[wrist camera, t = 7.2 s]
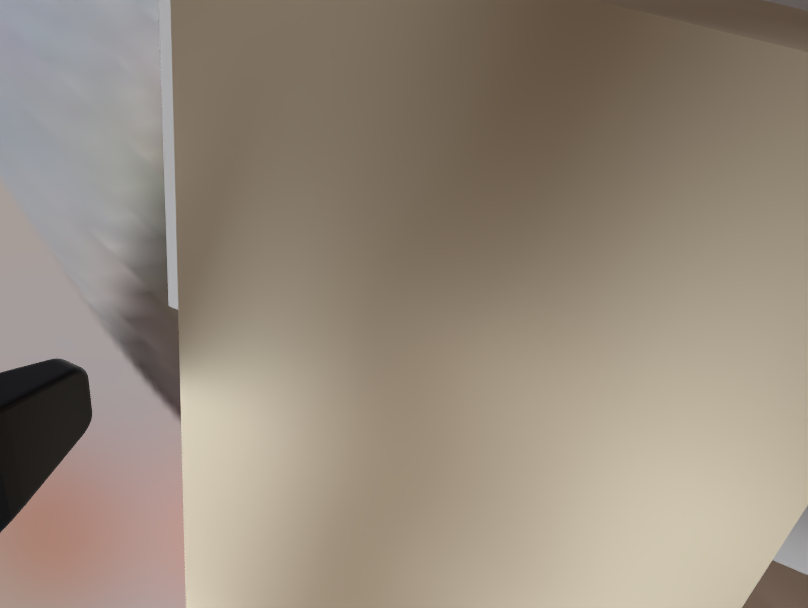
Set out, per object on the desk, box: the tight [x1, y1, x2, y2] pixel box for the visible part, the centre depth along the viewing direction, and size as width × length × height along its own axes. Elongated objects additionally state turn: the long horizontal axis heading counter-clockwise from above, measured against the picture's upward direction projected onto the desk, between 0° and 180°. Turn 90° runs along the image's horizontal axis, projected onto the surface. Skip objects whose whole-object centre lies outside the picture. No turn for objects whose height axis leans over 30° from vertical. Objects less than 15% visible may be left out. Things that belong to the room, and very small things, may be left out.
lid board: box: [170, 0, 808, 608], centre depth 10 cm, size 7×12×2 cm, turn 171°
